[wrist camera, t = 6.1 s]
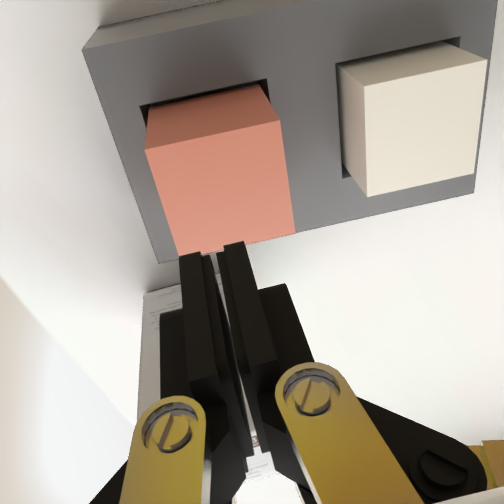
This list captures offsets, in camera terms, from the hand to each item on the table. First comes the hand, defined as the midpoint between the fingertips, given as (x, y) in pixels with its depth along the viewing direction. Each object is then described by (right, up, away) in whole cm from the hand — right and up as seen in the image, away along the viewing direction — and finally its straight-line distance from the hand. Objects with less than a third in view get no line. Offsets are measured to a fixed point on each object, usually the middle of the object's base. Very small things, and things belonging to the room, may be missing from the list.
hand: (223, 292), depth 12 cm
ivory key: (+7, +8, +10) cm, 14 cm away
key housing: (+2, +9, +12) cm, 15 cm away
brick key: (-1, +6, +8) cm, 10 cm away
